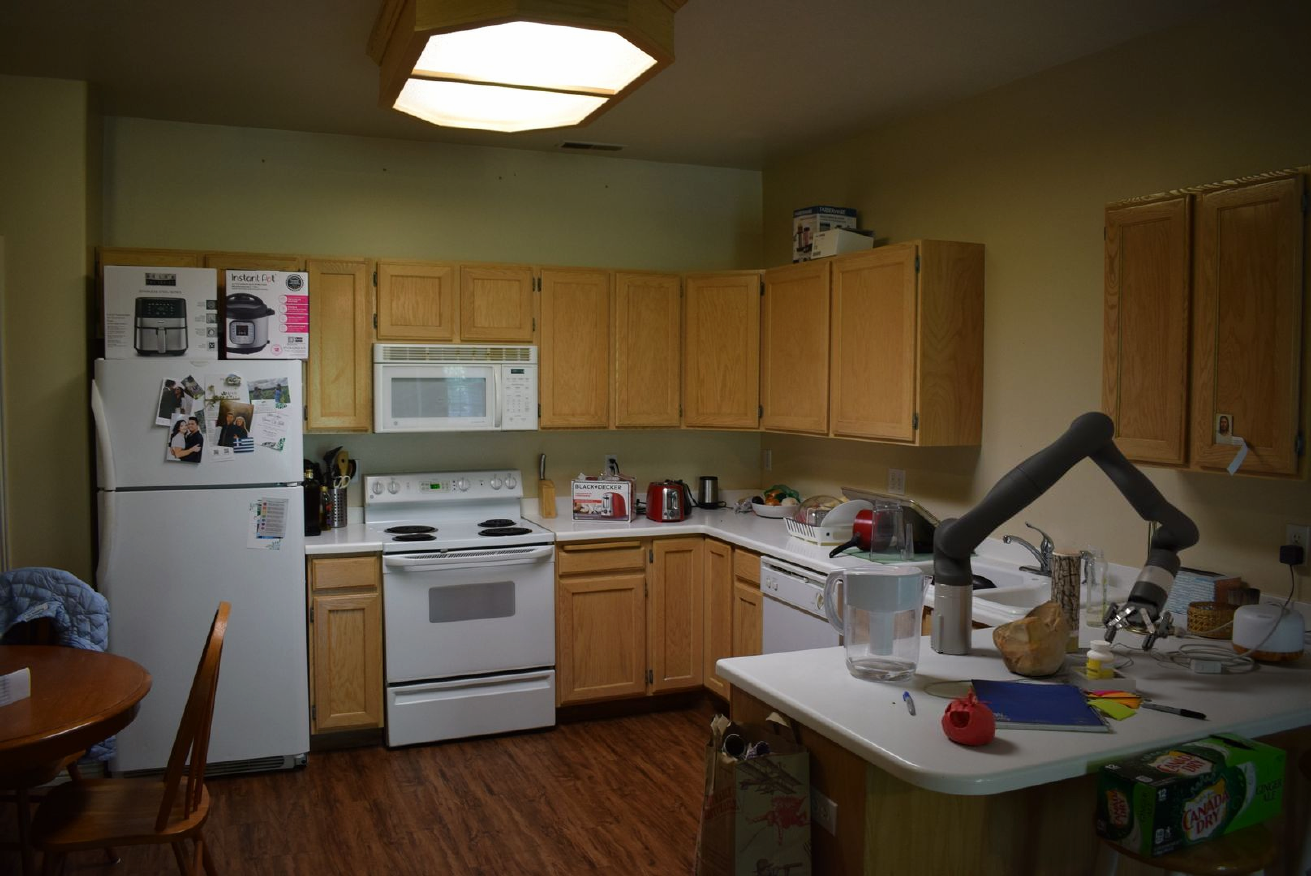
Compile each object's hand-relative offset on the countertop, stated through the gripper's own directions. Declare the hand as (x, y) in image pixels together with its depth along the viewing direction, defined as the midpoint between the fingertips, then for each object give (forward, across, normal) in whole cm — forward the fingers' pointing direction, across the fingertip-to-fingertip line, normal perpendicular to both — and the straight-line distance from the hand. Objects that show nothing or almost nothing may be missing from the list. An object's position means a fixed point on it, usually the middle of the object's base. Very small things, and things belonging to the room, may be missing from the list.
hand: (1125, 645), depth 221 cm
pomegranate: (+50, +3, -39) cm, 63 cm away
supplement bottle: (+13, 0, -3) cm, 14 cm away
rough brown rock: (+11, -20, 0) cm, 23 cm away
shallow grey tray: (+14, 0, -3) cm, 14 cm away
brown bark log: (-4, -23, +15) cm, 27 cm away
